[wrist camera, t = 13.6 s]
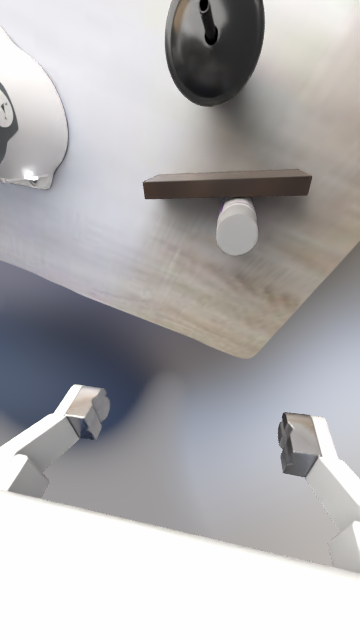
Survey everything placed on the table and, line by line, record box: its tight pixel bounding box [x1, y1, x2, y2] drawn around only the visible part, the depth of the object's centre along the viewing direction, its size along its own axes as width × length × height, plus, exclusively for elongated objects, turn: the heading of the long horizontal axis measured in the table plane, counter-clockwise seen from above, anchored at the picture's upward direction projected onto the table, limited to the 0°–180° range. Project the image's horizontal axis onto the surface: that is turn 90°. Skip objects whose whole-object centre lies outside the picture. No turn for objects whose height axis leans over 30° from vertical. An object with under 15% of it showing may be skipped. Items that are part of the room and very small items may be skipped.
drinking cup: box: [165, 0, 265, 107], centre depth 21 cm, size 8×8×20 cm
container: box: [216, 197, 258, 256], centre depth 31 cm, size 5×5×15 cm
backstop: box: [143, 169, 312, 199], centre depth 32 cm, size 20×2×8 cm, turn 93°
